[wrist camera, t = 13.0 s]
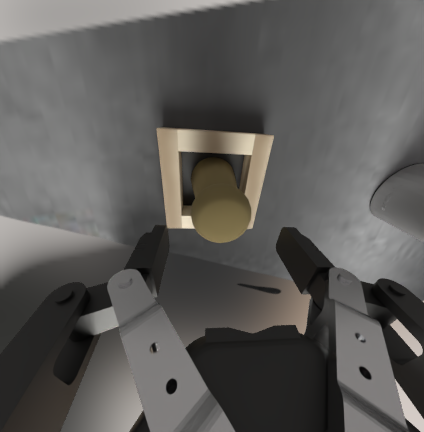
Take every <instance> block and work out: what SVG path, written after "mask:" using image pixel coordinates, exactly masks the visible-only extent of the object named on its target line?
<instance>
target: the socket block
mask: <svg viewBox="0 0 424 432" xmlns="http://www.w3.org/2000/svg"><path fill="white" fill-rule="evenodd" d="M157 137H158V146H159V155H160V165H161V174H162V183H163V192H164V202H165V211H166V220H167V227H168V228H194V226H193V223H192V219H191V209H192V206H184V205H183V181H182V156H181V151H185V152H204V153H224V154H243V155H244V161H243V167H242V173H241V180H240V186H239V189H240V190H241V191H242V192H243V193H244V195H245V196H246V197H247V198H248V200H249V203H250V206H251V221H250V223H249V226H248V228H247V229H252V227H253V223H254V219H255V215H256V210H257V206H258V202H259V198H260V193H261V189H262V185H263V181H264V176H265V172H266V168H267V164H268V159H269V155H270V151H271V146H272V142H273V138H274V136H272V135H267V134H258V133H242V132H227V131H212V130H196V129H181V128H165V127H162V128H157Z"/></svg>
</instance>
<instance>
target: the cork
mask: <svg viewBox="0 0 424 432" xmlns="http://www.w3.org/2000/svg"><path fill="white" fill-rule="evenodd" d="M191 182H192V187H193V191H194V195H195V200H194V202H193V203H192V209H191V219H192V223H193V226H194V228H195V229H196V231H197V232H198V233H199V234H200V235H201V236H202V237H204V238H205V239H207V240H209V241H212V242H218V243H223V242H229V241H232V240H235V239H236V238H238V237H239V236H241V235H242V234H243V233H244V232H245V230H246V229H247V228H248V226H249V223H250V221H251V206H250V203H249V200H248V198H247V197H246V196H245V195H244V193H243V192H242V191H241V190H240V189H238V188H237V184H236V179H235V174H234V171H233V169H232V167H231V166H230V164H229V163H228V162H226V161H225V160H223V159H222V158H217V157H210V158H206V159H204V160H202V161H200V162H199V163H198V164H197V165H196V166H195V168H194V170H193V171H192V176H191Z"/></svg>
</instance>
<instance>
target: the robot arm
mask: <svg viewBox="0 0 424 432" xmlns="http://www.w3.org/2000/svg"><path fill="white" fill-rule="evenodd" d="M370 209H371V213H372V214H373V215H374V216H376V217H377V218H379V219H381V220H383V221H385V222H386V223H388V224H390V225H392V226H394V227H396V228H397V229H399V230H401V231H403V232H405V233H406V234H408V235H410V236H412V237H414V238H416V239H418V240H419V241H421V242H423V243H424V164H415V165H412V166H409V167H406V168H404V169H402V170H400V171H398V172H397V173H395V174H394V175H392V176H391V177H390V178H388V179H387V180H386V181H385V182H384V183H383V184H382V185H381V186H380V187H379V189H378V190H377V191H376V193H375V194H374V196H373V198H372V201H371V205H370ZM276 251H277V253H278V255H279V257H280V258H281V260H282V262H283V263H284V265H285V267H286V269H287V270H288V272H289V274H290V275H291V277H292V279H293V281H294V282H295V284H296V286H297V287H298V289H299V291H300V293H301V294H310V295H311V299H310V303H309V310H308V318H307V326H306V331H305V334H304V335H303V334H300V333H299V332H298V330H297V328H296V325H281V326H273V327H270V328H267V329H265V330H262V331H259V332H257V333H253V334H252V333H248V332H244V331H240V330H236V329H232V328H206V330H205V336H203V337H200V338H198V339H197V340H195V341H193V342H192V343H191V344H189V345H188V346H187V347H186V348H185V347H184V345H183V344H182V342H181V340H180V338H179V337H178V335H177V333H176V331H175V330H174V328H173V326H172V324H171V322H170V321H169V319H168V317H167V315H166V314H165V312H164V310H163V308H162V307H161V305H160V304H159V303H158V304H157V303H156V301H155V299H154V297H157V296H158V293H159V289H160V285H161V280H162V276H163V272H164V269H165V264H166V261H167V256H168V253H169V236H168V227H167V225H155V226H154V228H153V230H152V233H145V234H144V235H143V236H142V237H141V238H140V240H139V241H138V243H137V245H136V247H135V250H134V251H133V253H132V255H131V257H130V259H129V261H128V263H127V264H126V266H125V268H124V270H123V271H120V272H118V273H117V274H115V275H114V276H113V277H112V278H111V279H110V280H109V282H107V283H104V284H100V285H97V286H93V287H89V288H86V287H85V285H84V284H82V283H80V282H73V283H69V284H66V285H63V286H61V287H60V288H58V289H56V290H54V291H53V292H52V293H51V294H50V295H49V296H48V297H47V298H46V299H45V300H44V301H43V302H42V304H41V305H40V306H39V307H38V309H37V310H36V311H35V312H34V313H33V315H32V316H31V317H30V318H29V320H28V321H27V322H26V323H25V325H24V326H23V327H22V328H21V330H20V331H19V332H18V333H17V334H16V336H15V337H14V338H13V339H12V341H11V342H10V343H9V344H8V346H7V347H6V348H5V349H4V350H3V352H2V353H1V354H0V432H60V431H61V428H62V426H63V423H64V421H65V419H66V417H67V414H68V412H69V409H70V407H71V404H72V402H73V400H74V397H75V395H76V392H77V390H78V388H79V385H80V383H81V381H82V378H83V376H84V373H85V371H86V369H87V366H88V364H89V361H90V359H91V357H92V354H93V352H94V349H95V347H96V345H97V342H98V340H99V337H100V335H101V333H102V332H104V331H107V330H109V329H112V328H115V327H118V326H119V332H120V336H121V339H122V342H123V345H124V349H125V352H126V355H127V358H128V361H129V365H130V368H131V371H132V374H133V378H134V380H135V384H136V387H137V390H138V394H139V397H140V400H141V403H142V407H143V412H142V413H141V415H140V416H139V418H138V419H137V421H136V422H135V424H134V425H133V427H132V428H131V430H130V432H420V431H419V430H418V429H417V428H416V427H415V426H413V425H412V424H411V423H410V422H409V421H408V420H407V419H405V417H404V413H403V410H402V406H401V402H400V398H399V394H398V390H397V386H396V382H395V379H396V381H397V382H398V383H399V385H400V386H401V387H402V389H403V390H404V392H405V393H406V395H407V396H408V398H409V399H410V400H411V401H412V403H413V404H414V406H415V407H416V409H417V410H418V411H419V413H420V414H421V416H422V417H423V419H424V303H423V302H422V301H421V300H420V299H419V298H417V297H416V296H415V295H414V294H413V293H412V292H410V291H409V290H408V289H407V288H405V287H404V286H402V285H400V284H398V283H396V282H394V281H392V280H389V279H383V278H382V279H379V280H378V281H377V282H376V283H375V284H370V283H366V282H362V281H359V279H358V278H357V277H356V276H355V275H353V274H352V273H350V272H349V271H347V270H344V269H342V268H337V267H335V266H334V265H333V264H332V263H331V262H330V261H329V260H328V259H327V258H326V257H325V256H324V255H323V253H322V252H321V251H319V249H318V248H317V247H316V246H315V245H314V244H313V243H312V242H311V240H310V239H308V238H307V237H305V236H304V235H302V234H301V233H300V232H299V231H298V230H297V229H296V228H294V227H283V228H282V230H281V232H280V235H279V238H278V241H277V244H276ZM396 319H398V320H399V321H400V322H401V323H402V324H403V325H404V326H405V328H406V329H407V330H408V331H409V332H410V333H411V334H412V335H413V336H414V337H415V338H416V339H417V340H418V341H419V343H420V344H421V346H422V348H423V353H422V355H420V356H419V357H418V356H417V355H416V354H415V353H414V352H413V351H412V350H411V349H410V347H409V346H408V345H407V344H406V343H405V342H404V341H403V339H402V338H401V337H400V336H399V335H398V334H397V333H396V331H395V330H394V329H393V328H392V327H391V326H390V324H391V323H392V322H394V321H395V320H396Z"/></svg>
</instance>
